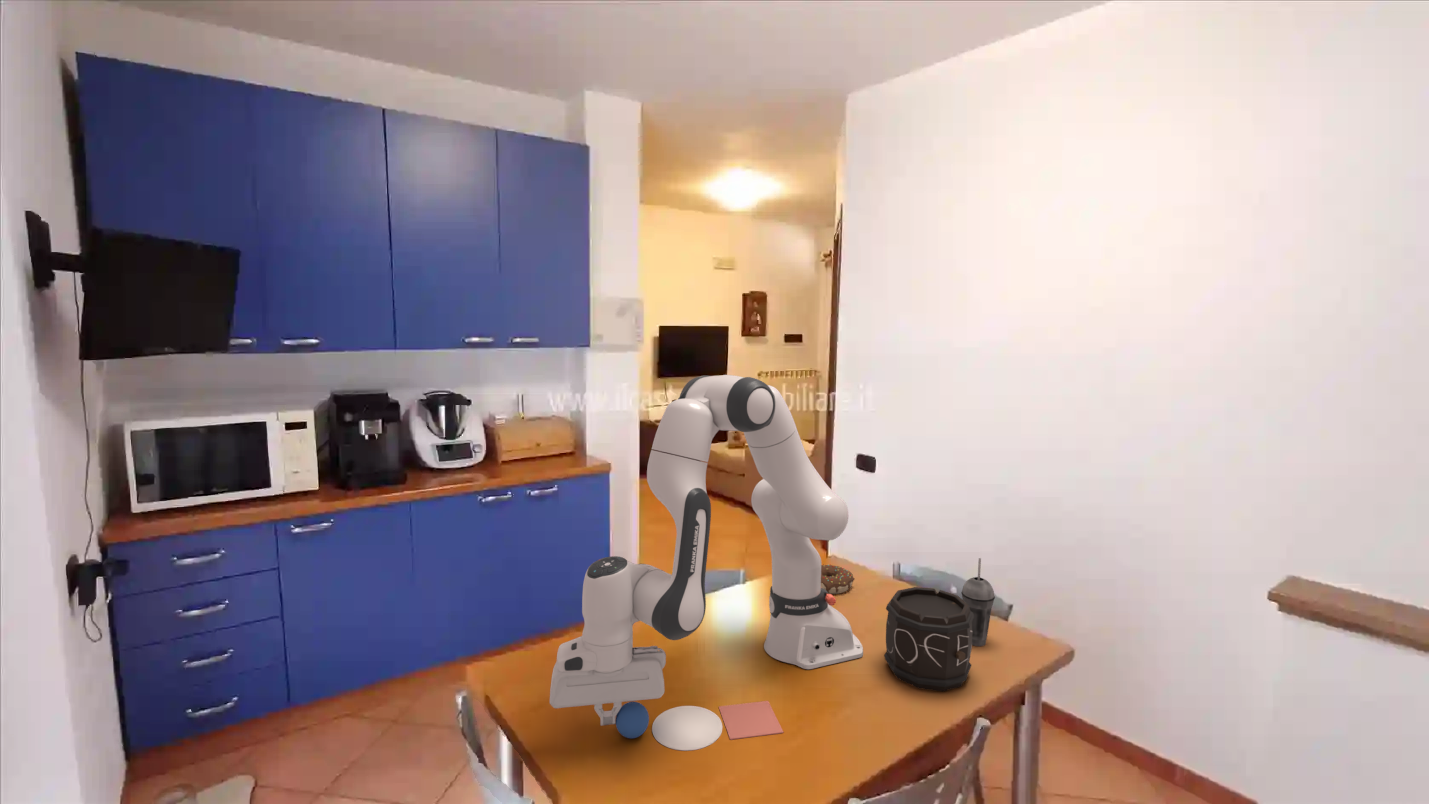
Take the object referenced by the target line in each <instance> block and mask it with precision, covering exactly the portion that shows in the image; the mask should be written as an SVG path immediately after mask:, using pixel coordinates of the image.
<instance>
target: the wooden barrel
mask: <svg viewBox="0 0 1429 804" xmlns="http://www.w3.org/2000/svg"><path fill="white" fill-rule="evenodd" d="M885 609H886V611H887V618H886V624H885V649H886V652H885V654H884V655H883V657H884V660H885V662H886V663H887V664H888V667H889V668H890V670H891V671H892V673H893V674H894V676H895V677H896V679H897V680H900V681H902V682H904V683H905V684H908V685H909V686H913V687H914V688H916V689H919V690H920V689H921V690H925V691H926V690H928V691H934V692H936V691H937V692H946V691H949V690H953V689H956V688H960V687H962V686H963V683H964V682H966V681H967V678H968V676H969V674H970V673H969V672H970V670H971V667H972V664H971V661H970V659H971V654H972V647H973V645H972V621H973V618H974V614H973V612H971V611H970V607H969V605H968V604H967V603H966V602H964V601H963V599H962V598H961V597H960V596H959V595H957V594H954V593H951V592H949V591H945V590H941V589H939V591H938V592H937V590H936V589H935V588H931V587H930V588H929V587H920V586H913V587H907V588H903V589H899V590H897V591H896V592H895V593H894V595H893V596H892V597H891V598H890V600H889V602H888V603H887V604H886V607H885Z"/></svg>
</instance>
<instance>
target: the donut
mask: <svg viewBox="0 0 1429 804" xmlns="http://www.w3.org/2000/svg"><path fill="white" fill-rule="evenodd" d="M854 581H855V578H854V575H853V573H852V572H851V571H850V570H849V569H845V567H843V566H839V565H833V564H829V563H827V564H824V563H823V564H821V587H822V588H823V589H825V590H826V591H827V592H828V594H831V595H837V594H843V593H845V592H847V591H848V590H849V589H851V588H852V585H853V582H854Z"/></svg>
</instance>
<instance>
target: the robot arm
mask: <svg viewBox="0 0 1429 804" xmlns="http://www.w3.org/2000/svg"><path fill="white" fill-rule="evenodd" d="M719 431H732V432H733V431H734V432H735V431H736V432H737V431H738V432H740V433H742V432H743V435H744V439H745V441H746V444H747V447H748V448H749V449H748V450H749V452H750V455H751V457H752V459H753V462H754V464H755V468H756V470H757V472H758V474H759V475H760V477H762V479H761V480H760V481H759V482H757V483H756V484H755V486H754V488H753V491H752V493H751V499H750V500H751V501H750V502H751V507H752V510H753V511H754V512H755V514H756V515H757V516H758V518H759V520H760V521H761V524H762V527H763V529H764V532H765V535H766V538H767V541H768V544H769V545H768V546H769V549H770V555H771V556H770V557H771V586H770V589H769V596H768V597H769V601H768V602H769V604H768V605H769V606H768V607H769V614H770V615H769V617H770V618H769V626H768V630H767V634H766V639H765V641H764V643H763V648H764V651H765V652H766V653H767V654H768V655H769V656H770V657H771V658H773V659H775V660H778V661H780V662H783V663H787V664H791V665H794V666H795V665H796V666H798V667H799V668H802V669H804V670H813V669H817V668H821V667H825V666H829V665H833V664H837V663H839V664H840V663H843V662H846V661H851V660H855V659H859V658H862V657H864V647H863V644H862V643H861V641H860V640H859V638H858V637H857V636H856V635H855V634H854V633H853V630H852V626H851V623H850V622H849V621H848V619H847V618H846V616H844V615H843V613H841V612H840V611H839V610H837V609H836V608H835V607H833V606H834V605H835V604H836V603H837V599H836V598H835V596H834V594H828V592H827V591H826V590H825V589H823V588H822V587H821V565H822V558H821V556H820V553H819V552H818V550H817V549H816V548H815V546H814V544H813V543H812V541H811V539H812V540H819V541H833V540H836V539H838V537H840V536H841V535H842V534H843V532H844V531H845V530H846V527H847V526H848V522H849V509H848V505H847V503H846V502H845V500H844V499H842V497H840V496H839V495H838V494H836V492H834V490H833V489H831V488H830V486H829V485H828V484H827V483H826V481H824V479H823V478H822V476H821V475H820V474H819V472H818V470H816V468H815V467H814V465H813V463H812V462H811V461H810V458H809V457H808V455H807V452H806V450H805V448H804V444H803V443H802V442H803V441H802V440H801V436H800V434H799V432H798V429H797V425H796V423H795V420H794V417H793V414H792V413H791V410H790V408H789V405H787V402H786V400H785V398H784V397H783V396H782V394H781V392H780V391H779V390H778V389H777V388H776V387H775V386H772V385H769V384H766V382H764V381H762V380H761V379H757V378H756V377H752V376H746V377H743V376H739V375H735V374H734V375H732V374H723V375H701V376H700V375H699V376H696V377H694V378H691V379H690V380H689V381H688V382H687V383H686V384H685V385H684V386H683V388H682V390H681V392H680V393H679V397H678V398H677V399H675V400H673V401H671V402H669V404H668V405H667V406H666V408H665V410H664V412H663V415H662V417H661V419H660V421H659V424H658V427H657V430H656V432H655V435H654V438H653V442H652V447H651V450H650V454H649V458H648V462H647V470H646V481H647V484H648V486H649V489H650V491H651V492H652V494H653V495H654V496H655V498H656V499H657V500H658V501H659V502H660V503H661V504H662V505H663V506H664V507H665V508H666V510H667V511H668V513H670V515H671V518H673V521H674V524H675V529H676V537H675V547H674V556H673V564H672V573H668V572H666V571H664V570H662V569H660V568H658V567H656V566H653V565H650V564H646V563H633V562H631V561H630V560H628V559H626V558H625V557H624V556H623V557H622V556H616V555H615V556H614V555H613V556H605V557H601V558H599V559H597V560H596V561H593V562H592V563H591V564H590V565H589V566H588V567H587V570H586V572H585V575H584V579H583V585H582V592H581V593H582V598H581V599H582V600H581V603H582V604H581V606H582V607H581V613H582V617H583V621H584V626H583V629H582V635H581V636H579V637H578V636H577V637H576V638H573V639H570V640H569V641H566V642H562V643H561V644H560V645H559V647H558V648H557V654H556V662H555V664H554V666H553V669H552V674H551V680H550V681H551V683H550V690H549V705H550V706H551V707H552V708H554V709H561V708H562V709H563V708H572V707H573V708H574V707H583V706H594V707H593V708H594V709H593V710H594V711H595V713H596V714H597V715H598V717H599V718H600V726H609V725H616V715H617V713H618V712H619V710H620V709H621V707H622V706H623V704H622V703H625V702H626V703H627V702H633V701H634V702H637V701H642V700H643V701H644V700H645V701H646V700H656V699H661V698H662V696H664V694H665V679H664V672H663V669H664V668H665V666H666V663H667V660H666V659H667V655H666V651H665V650H664V649H663V648H661V647H658V645H651V646H635V647H634V645H633V643H634V642H633V639H634V637H633V636H634V635H633V633H634V631H633V626H634V624H636V623H638V622H642V623H643V624H645V625H648V626H650V627H651V628H653V629H654V630H655V631H656V632H658V633H659V634H660V635H662V636H663V637H665V639H668V640H670V641H678V640H682V639H684V638H686V637H688V636H690V635H692V634H693V633H694V632H696V630H697V629H698V628H699V627H700V626H701V624H702V623H703V620H704V618H705V615H706V608H707V607H706V605H707V601H706V600H707V598H706V584H705V583H706V574H707V573H706V571H707V563H708V562H707V561H708V553H709V544H710V543H709V542H710V531H711V520H712V519H711V518H712V505H711V504H712V503H711V499H710V496H709V495H708V492H707V485H706V483H707V482H706V481H707V480H706V479H707V468H708V462H709V460H710V459H709V458H710V455H711V454H710V453H711V447H712V441H713V439H714V437H715V436H716V434H717V433H718V432H719ZM603 704H613V707H612V709H611V710H604V708H603Z"/></svg>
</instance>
